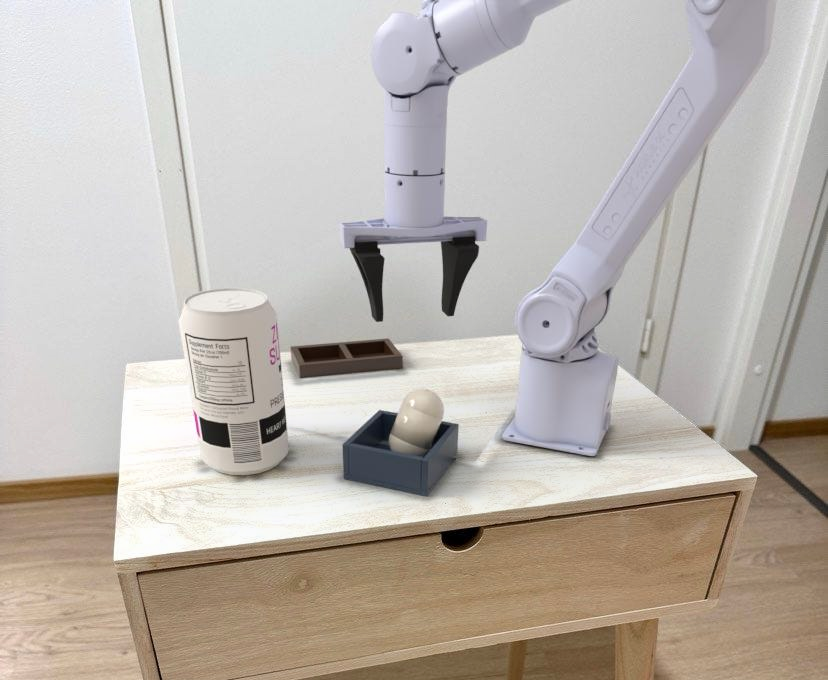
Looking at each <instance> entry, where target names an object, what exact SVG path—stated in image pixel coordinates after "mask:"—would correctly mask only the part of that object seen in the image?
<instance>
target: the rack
mask: <svg viewBox="0 0 828 680" xmlns="http://www.w3.org/2000/svg"><path fill="white" fill-rule="evenodd" d="M401 353H402V352H400V351H399V350H398V348H397V347H396V346H395V345H394V343H393V342H392V341H391V339H390V338H389V337H388V338H377V339H376V338H375V339H366V340H365V339H364V340H353V341H351V340H350V341H340V342H329V343H317V344H315V343H314V344H305V345H294V346H293V345H292V346H290V358H291V361H292V363H293V366H294V368H295V370H296V373H297V375H298V377H299V379H307V378H319V377H328V376H339V375H349V374H361V373H362V374H363V373H370V372H381V371H393V370H394V371H395V370H402V369H403V367H404V365H403V364H404V361H403V360H404V358H403V357H404V356H403V355H402V354H401Z"/></svg>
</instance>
